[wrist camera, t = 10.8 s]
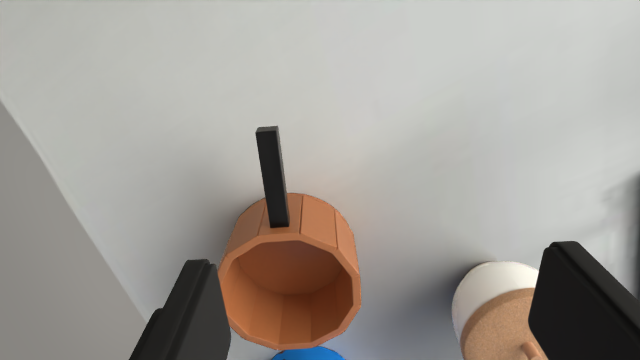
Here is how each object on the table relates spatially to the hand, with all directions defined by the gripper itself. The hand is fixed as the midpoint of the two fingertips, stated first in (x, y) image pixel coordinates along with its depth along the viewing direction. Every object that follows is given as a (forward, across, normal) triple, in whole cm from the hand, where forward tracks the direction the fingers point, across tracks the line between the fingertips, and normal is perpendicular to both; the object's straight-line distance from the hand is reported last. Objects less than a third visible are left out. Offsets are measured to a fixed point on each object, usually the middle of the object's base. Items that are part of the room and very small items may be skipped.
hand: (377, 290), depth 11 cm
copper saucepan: (+23, +5, +11) cm, 26 cm away
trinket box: (+23, -15, +21) cm, 34 cm away
